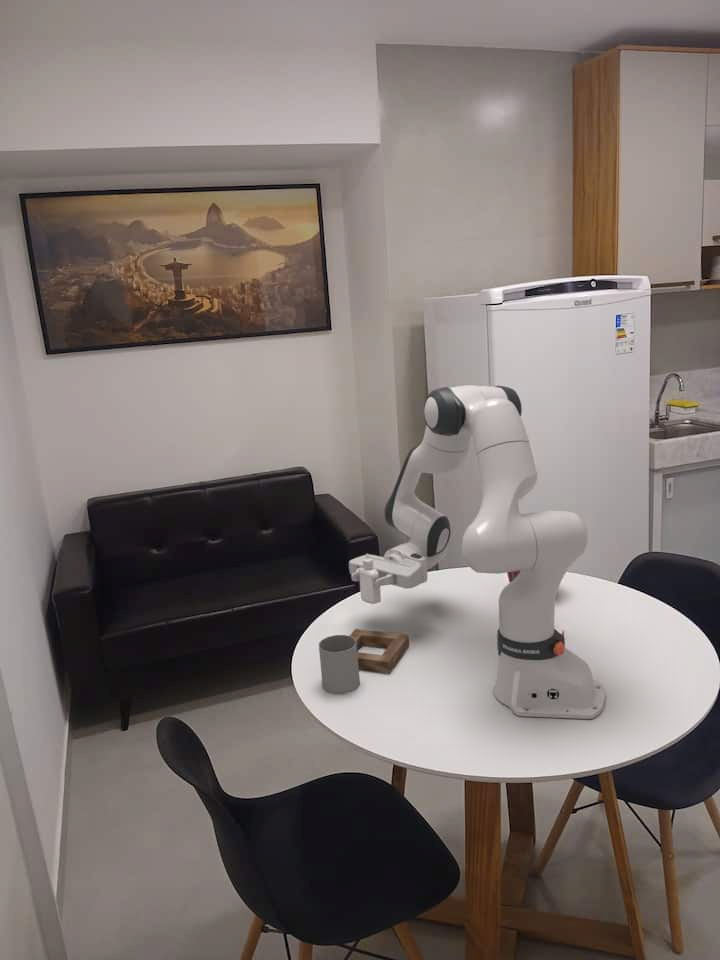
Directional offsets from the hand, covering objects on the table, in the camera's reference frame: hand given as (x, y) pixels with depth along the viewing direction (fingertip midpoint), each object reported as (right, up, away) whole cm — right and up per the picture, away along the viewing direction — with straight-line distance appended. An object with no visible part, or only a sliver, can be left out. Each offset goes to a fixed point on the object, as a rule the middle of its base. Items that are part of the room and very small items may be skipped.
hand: (364, 581), depth 177 cm
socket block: (+2, -18, -3) cm, 18 cm away
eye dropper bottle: (+2, -5, +3) cm, 6 cm away
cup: (-5, -21, -14) cm, 26 cm away
